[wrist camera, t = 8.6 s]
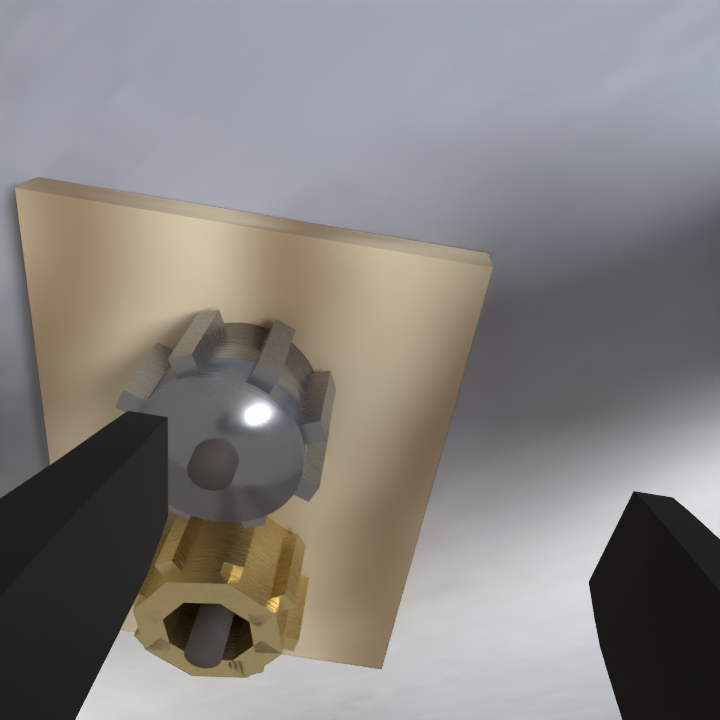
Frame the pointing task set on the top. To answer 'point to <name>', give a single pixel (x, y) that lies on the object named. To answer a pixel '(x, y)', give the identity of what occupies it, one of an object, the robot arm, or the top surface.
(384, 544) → the gear board
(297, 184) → the top surface
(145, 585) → the brass gear
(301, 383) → the steel gear
